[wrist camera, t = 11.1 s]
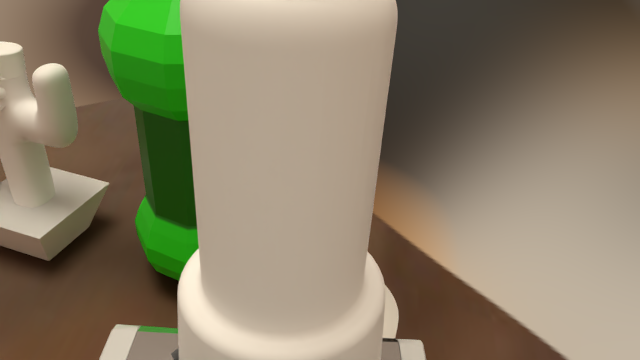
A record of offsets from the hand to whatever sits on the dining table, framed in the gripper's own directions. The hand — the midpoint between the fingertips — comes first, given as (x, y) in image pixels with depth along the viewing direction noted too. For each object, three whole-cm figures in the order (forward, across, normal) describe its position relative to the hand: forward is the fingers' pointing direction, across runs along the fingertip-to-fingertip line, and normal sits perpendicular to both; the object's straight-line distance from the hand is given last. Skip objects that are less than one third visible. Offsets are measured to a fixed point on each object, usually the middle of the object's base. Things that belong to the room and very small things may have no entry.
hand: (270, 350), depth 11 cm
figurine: (+24, -19, -18) cm, 36 cm away
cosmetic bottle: (-1, 0, -13) cm, 13 cm away
